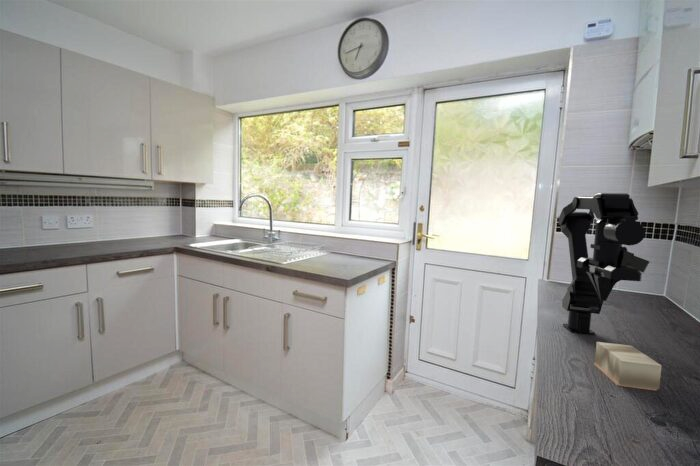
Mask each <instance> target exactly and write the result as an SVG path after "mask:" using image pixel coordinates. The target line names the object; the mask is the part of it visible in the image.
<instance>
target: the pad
mask: <svg viewBox="0 0 700 466" xmlns="http://www.w3.org/2000/svg"><path fill="white" fill-rule="evenodd" d="M593 365H594V366H595V367H596V368H598V370H599V371H600V372H602V373H603V374H604V376H606V377H607V378H608V379H610V381H611V382H612V383H614V384H615V386H618V387H626V388H633V389H639V390H640V389H642V390H648V391H657V390H658V389H653V388H646V387H638V386H630V385H623V384H619V383H618V382H616V381H615V380H614V379H613V378H612V377H611V376H610V375H609V374H608V373H606V372H605V371H604V370H603V369H602V368H601V367H600V366H599V365H598V364H596V363H595V362H594V363H593ZM657 392H658V391H657Z"/></svg>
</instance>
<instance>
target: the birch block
mask: <svg viewBox="0 0 700 466" xmlns="http://www.w3.org/2000/svg"><path fill="white" fill-rule="evenodd" d="M595 346H596V347H595V356H594V357H595V358H594V363H596V364H598V365H599V366H600V367H601V368H602V369H603V370H604V371H605V372H606V373H608V374H609V375H610V376H611V377H612V378H613V379H614V380H615V381H616V382H618V383H619V384H623V385H630V386H638V387H646V388H653V389H657V390H660V384H661V376H662V365H661V364H660V363H659V362H657V361H655V360H654V359H652V358H651V357H650V356H648V355H646V354H645V353H644V352H642V351H640V350H638V349H637V348H635V347H634V346H632V345H629V344H622V343H621V344H620V343H612V342H611V343H610V342H602V341H596V345H595Z"/></svg>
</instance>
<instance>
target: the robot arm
mask: <svg viewBox="0 0 700 466" xmlns="http://www.w3.org/2000/svg"><path fill="white" fill-rule="evenodd" d="M576 210H589V211H588V212H586V211H576ZM638 215H639V212H638V210H637V208H636V206H635V203H634V201H633V199H632V197H631V196H630V194H629V193H624V192H623V193H618V192H617V193H610V192H607V193H606V192H599V193H596V194H594V195H593V196H591V195H589V196H587V195H585V196H584V195H581V196H580V195H578V196H575V197H573V199H572V201H571V202H569V204H567V205H566V206H564V207H563V208H562V209H561V212H560V214H559V217H558V225H559V226H560V231H561V233H563V235H565V236H566V238H567V241H568V248H569V249H568V250H569V258H570V268H571V276H572V280H571V282H570V284H569V285H568V286H567V288H566V290H567V291H566V293H565V294H564V296H563V297H562V299H561V307H562V308H563V309H564V310H565V311H566V312H568V315H567V323H562V326H563V327H564V328H566V329H567V330H568V331H569V332H571V333H577V334H584V335H585V334H586V335H596V332H595V331H594V330H592V329H591V322H592V316H593V315H592V314H594V315H595V314H596V315H600V314H601V311H602V308H603V304H604V302H605V301H607V299H608V297H609V295H610V294H611V292H612V290H613V288H615V287H614V286H615V285H616V284H617V283H619V282H620V281H628V282H630V281H632V282H642V275H643V273H645V272H646V270H647V267H648V266H649V264H650V261H649V260H647V259H645V258H642V257H639V256H636V255H635V253H633V252H629V251H628V248H627V247H626V246H635V245H639V244H640V243H641V242H642V241H643V240H644V239H645V236H646V230H645V227H644V226H643V225H642V224H641V223H640V222H638V219H639V216H638ZM595 218H596V219H595ZM594 219H595V220H594ZM593 221H594V224H595V229H594V230H595V232H594V242H593V243H590V248H591V249H593V254H592V257H589V252H588V246H587V245H588V244H587V236H586V235H587V233H588V232H589V230H590V229H591V227H592V226H591V225H592V223H593ZM623 245H625V246H623Z"/></svg>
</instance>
